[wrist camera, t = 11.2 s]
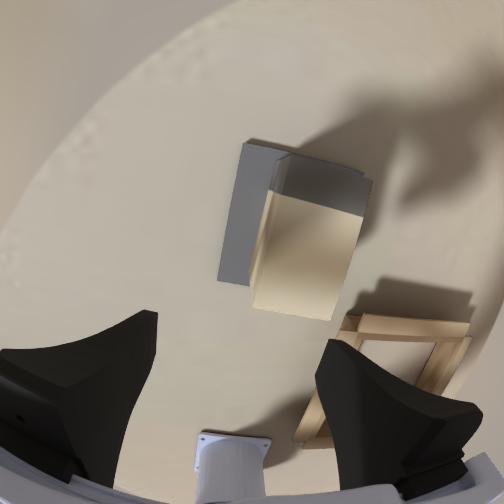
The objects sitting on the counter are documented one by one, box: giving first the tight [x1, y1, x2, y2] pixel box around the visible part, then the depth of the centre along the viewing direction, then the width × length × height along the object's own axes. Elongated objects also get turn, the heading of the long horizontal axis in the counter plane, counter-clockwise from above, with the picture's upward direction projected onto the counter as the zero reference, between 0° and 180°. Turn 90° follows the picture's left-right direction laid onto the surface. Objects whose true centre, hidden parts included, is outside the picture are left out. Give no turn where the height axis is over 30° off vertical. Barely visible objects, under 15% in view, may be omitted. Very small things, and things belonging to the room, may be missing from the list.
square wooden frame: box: [292, 313, 473, 449], centre depth 23 cm, size 16×16×3 cm
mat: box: [217, 143, 364, 286], centre depth 20 cm, size 10×9×1 cm
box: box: [248, 155, 373, 321], centre depth 17 cm, size 8×4×6 cm, turn 167°
